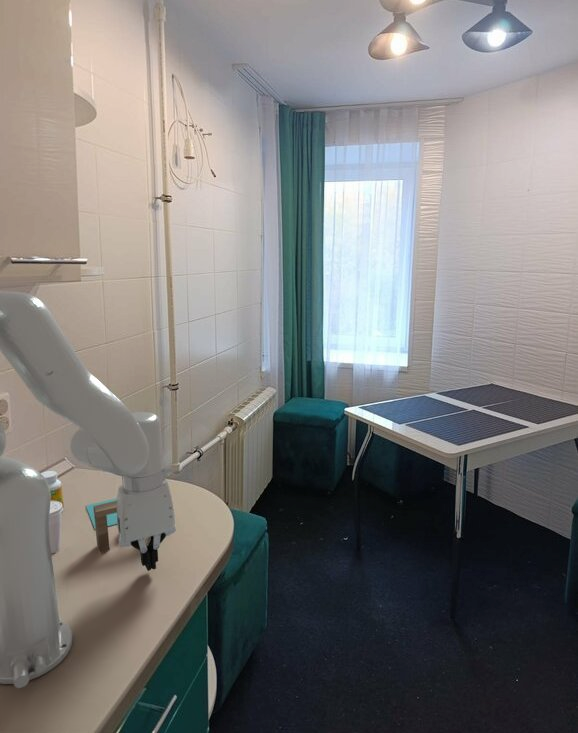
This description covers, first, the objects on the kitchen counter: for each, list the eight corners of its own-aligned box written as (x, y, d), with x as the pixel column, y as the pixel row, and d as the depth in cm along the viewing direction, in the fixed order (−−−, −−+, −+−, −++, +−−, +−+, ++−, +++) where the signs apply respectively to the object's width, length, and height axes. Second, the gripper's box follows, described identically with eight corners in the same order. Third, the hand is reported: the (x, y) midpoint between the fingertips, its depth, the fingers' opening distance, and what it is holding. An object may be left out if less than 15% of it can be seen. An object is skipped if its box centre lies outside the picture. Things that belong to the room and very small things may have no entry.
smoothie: (29, 550, 109) (21, 488, 106) (59, 538, 114) (52, 478, 111) (41, 562, 105) (33, 498, 102) (72, 548, 110) (65, 487, 107)
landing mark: (152, 515, 123) (152, 514, 123) (95, 529, 117) (95, 529, 117) (138, 493, 134) (138, 493, 134) (85, 506, 128) (85, 505, 128)
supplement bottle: (47, 519, 122) (42, 481, 120) (35, 512, 125) (30, 475, 123) (68, 510, 126) (64, 473, 124) (56, 504, 129) (52, 467, 127)
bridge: (167, 533, 115) (165, 495, 113) (99, 552, 108) (95, 512, 106) (164, 527, 118) (161, 490, 116) (97, 545, 111) (93, 506, 109)
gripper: (176, 463, 104) (181, 546, 108) (97, 480, 96) (106, 568, 100) (188, 477, 97) (193, 564, 101) (105, 496, 90) (114, 589, 94)
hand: (150, 566), depth 101 cm, fingers closed
